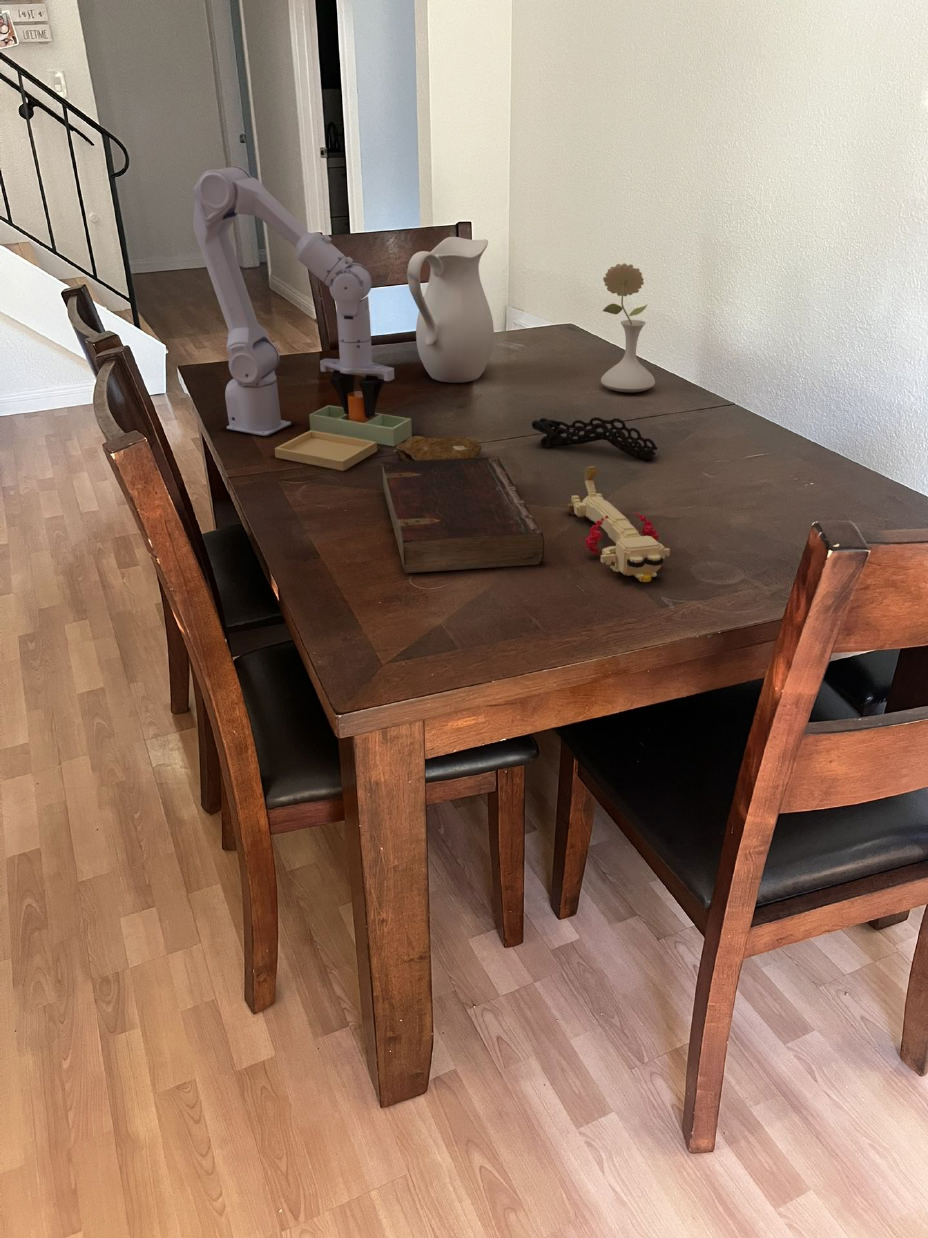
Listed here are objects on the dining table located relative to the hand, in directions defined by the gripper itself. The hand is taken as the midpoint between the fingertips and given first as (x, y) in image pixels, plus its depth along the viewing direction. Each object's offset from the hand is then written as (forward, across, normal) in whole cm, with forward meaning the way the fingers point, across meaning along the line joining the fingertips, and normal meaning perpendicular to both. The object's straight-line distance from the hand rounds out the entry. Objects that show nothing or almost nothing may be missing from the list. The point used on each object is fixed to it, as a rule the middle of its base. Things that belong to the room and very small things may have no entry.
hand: (359, 414), depth 165 cm
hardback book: (+4, +35, -28) cm, 45 cm away
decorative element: (+4, +42, +10) cm, 43 cm away
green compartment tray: (+4, 0, 0) cm, 4 cm away
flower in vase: (+4, +34, +50) cm, 60 cm away
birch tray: (+4, 0, -12) cm, 12 cm away
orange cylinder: (+1, 0, 0) cm, 1 cm away
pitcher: (+4, -2, +38) cm, 39 cm away
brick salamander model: (+4, +58, -24) cm, 63 cm away
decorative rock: (+4, +20, -7) cm, 21 cm away
